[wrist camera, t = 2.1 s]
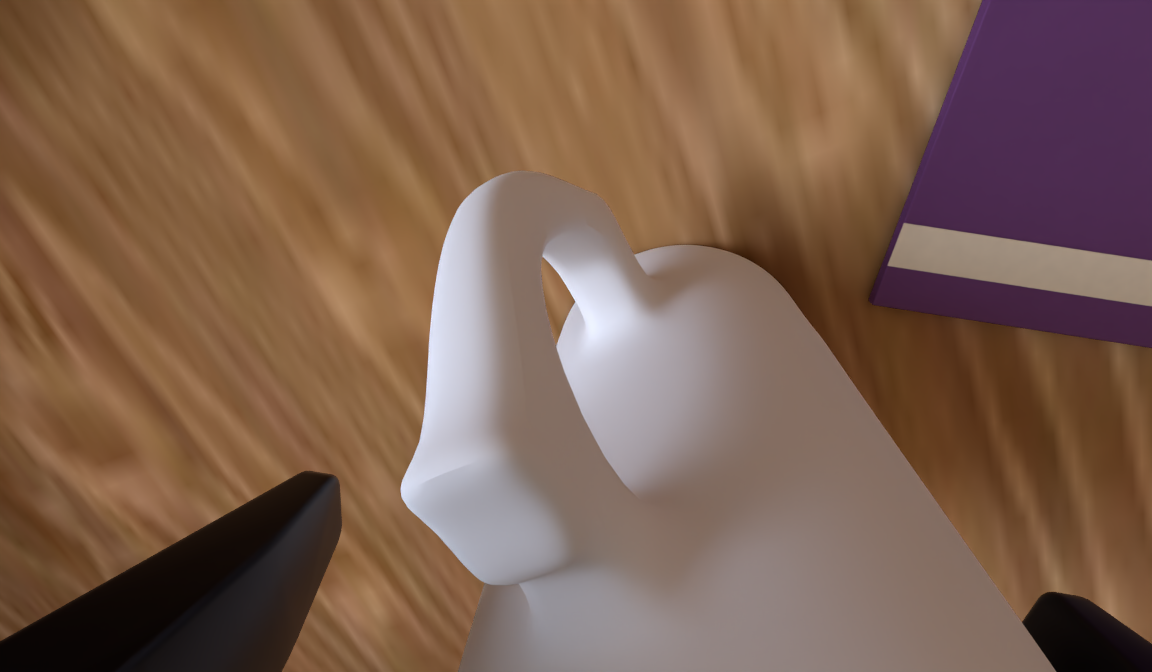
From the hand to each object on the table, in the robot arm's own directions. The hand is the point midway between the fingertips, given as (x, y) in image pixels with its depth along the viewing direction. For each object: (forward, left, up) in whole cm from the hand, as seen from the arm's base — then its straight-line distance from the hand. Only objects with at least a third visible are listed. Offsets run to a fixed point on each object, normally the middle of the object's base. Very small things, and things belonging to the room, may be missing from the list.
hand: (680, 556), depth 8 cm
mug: (0, 0, -8) cm, 8 cm away
